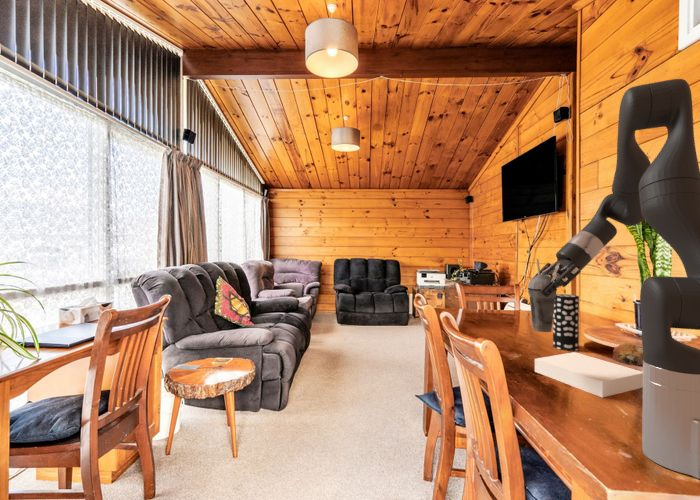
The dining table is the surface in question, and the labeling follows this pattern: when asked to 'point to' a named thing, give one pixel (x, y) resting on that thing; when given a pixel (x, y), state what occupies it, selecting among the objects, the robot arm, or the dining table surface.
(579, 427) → the dining table surface
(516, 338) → the dining table surface
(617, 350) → the bread roll
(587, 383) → the shelf board
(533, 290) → the beverage cup
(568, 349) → the spotted tube
